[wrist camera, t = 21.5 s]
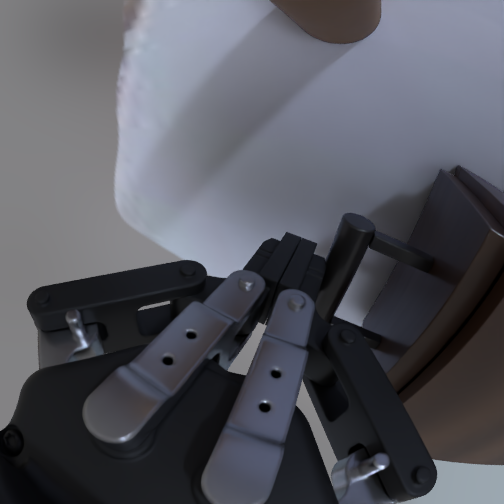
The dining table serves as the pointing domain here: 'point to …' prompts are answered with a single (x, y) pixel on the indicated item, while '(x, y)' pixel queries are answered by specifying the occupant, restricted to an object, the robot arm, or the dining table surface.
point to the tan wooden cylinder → (334, 18)
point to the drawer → (419, 278)
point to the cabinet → (466, 374)
